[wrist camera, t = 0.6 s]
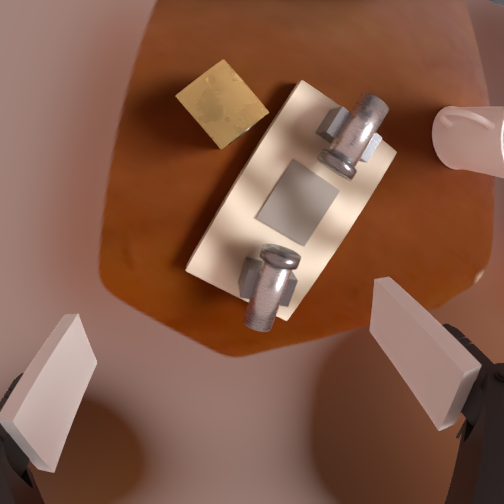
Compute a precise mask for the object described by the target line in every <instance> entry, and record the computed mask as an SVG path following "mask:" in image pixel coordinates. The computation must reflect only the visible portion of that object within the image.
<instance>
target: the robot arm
mask: <svg viewBox="0 0 504 504" xmlns="http://www.w3.org/2000/svg"><path fill="white" fill-rule="evenodd" d="M490 1H492V2H494V3H496V4H499V5H501V6H504V0H490ZM370 332H371V334H372V335H373V337H374V338H375V339H376V341H377V342H378V343H379V345H380V346H381V348H382V349H383V350H384V352H385V353H386V355H387V356H388V357H389V359H390V360H391V361H392V363H393V364H394V366H395V367H396V369H397V370H398V372H399V373H400V374H401V376H402V377H403V379H404V380H405V382H406V383H407V385H408V386H409V387H410V389H411V390H412V392H413V393H414V395H415V396H416V398H417V399H418V401H419V402H420V404H421V405H422V407H423V408H424V409H425V411H426V412H427V414H428V415H429V417H430V418H431V420H432V422H433V423H434V425H435V426H436V427H437V429H438V431H440V430H442V429H445V428H447V427H449V426H451V425H453V424H455V423H456V422H457V420H458V418H459V416H460V413H461V412H462V414H463V415H464V416H465V418H466V419H465V421H464V423H463V425H462V427H461V429H460V431H459V432H458V434H457V436H456V438H459V437H460V435H461V439H460V445H459V450H458V454H457V459H456V463H455V467H454V472H453V476H452V479H451V484H450V487H449V490H448V494H447V497H446V501H445V504H504V363H497V364H493V363H492V362H491V361H490V360H489V359H488V358H487V357H486V356H485V355H484V354H483V353H482V352H481V351H480V350H479V349H478V348H477V347H476V346H475V345H474V344H472V342H471V341H470V340H469V339H468V338H466V336H465V335H463V334H462V333H461V332H460V331H459V330H458V329H457V328H455V327H452V326H450V325H449V324H444V325H441V324H440V323H439V322H438V321H437V320H436V319H435V318H434V317H433V316H432V315H431V314H429V312H427V311H426V310H425V309H424V308H423V307H422V306H421V305H420V304H419V303H418V302H417V301H416V300H415V299H413V298H412V297H411V296H410V295H409V294H408V293H407V292H406V291H405V290H404V289H403V288H401V287H400V286H399V285H398V284H397V283H396V282H395V281H394V280H393V279H391V278H390V277H385V278H379V279H375V280H374V292H373V303H372V313H371V323H370ZM96 364H97V361H96V358H95V356H94V353H93V351H92V349H91V346H90V344H89V341H88V339H87V336H86V333H85V331H84V328H83V325H82V323H81V320H80V317H79V314H66V315H64V316H63V318H62V319H61V320H60V322H59V323H58V324H57V326H56V327H55V329H54V330H53V331H52V333H51V334H50V336H49V337H48V339H47V340H46V341H45V343H44V344H43V346H42V347H41V348H40V350H39V352H38V353H37V354H36V356H35V357H34V359H33V360H32V362H31V363H30V365H29V366H28V368H27V369H26V371H25V373H22V374H20V375H19V376H18V377H17V378H16V379H15V380H14V381H13V382H12V384H11V386H10V387H9V390H8V391H7V392H6V394H5V395H4V398H2V400H1V402H0V504H45V502H44V500H43V498H42V496H41V494H40V491H39V489H38V487H37V484H36V482H35V479H34V477H33V474H32V472H31V470H30V469H29V468H28V466H27V465H28V462H29V460H30V461H31V462H32V463H33V464H34V465H35V466H36V467H37V468H38V469H40V470H44V471H49V472H53V473H54V472H55V469H56V465H57V463H58V460H59V457H60V454H61V451H62V449H63V446H64V443H65V440H66V438H67V435H68V432H69V430H70V427H71V424H72V422H73V419H74V416H75V414H76V412H77V409H78V407H79V404H80V402H81V399H82V397H83V395H84V392H85V390H86V387H87V385H88V382H89V380H90V378H91V376H92V373H93V371H94V369H95V367H96ZM461 433H462V434H461Z"/></svg>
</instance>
